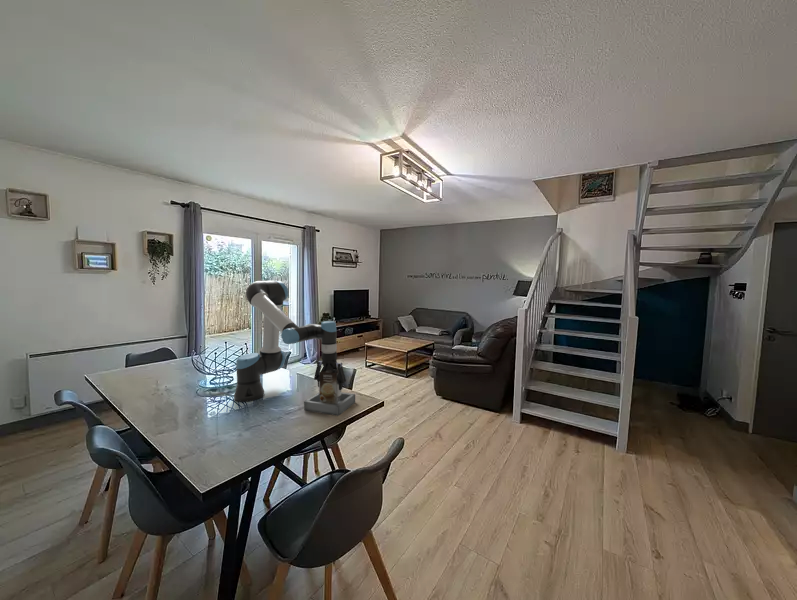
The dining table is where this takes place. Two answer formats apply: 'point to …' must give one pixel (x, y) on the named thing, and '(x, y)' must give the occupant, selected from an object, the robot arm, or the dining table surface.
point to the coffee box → (328, 387)
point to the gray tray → (331, 409)
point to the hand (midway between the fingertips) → (330, 394)
